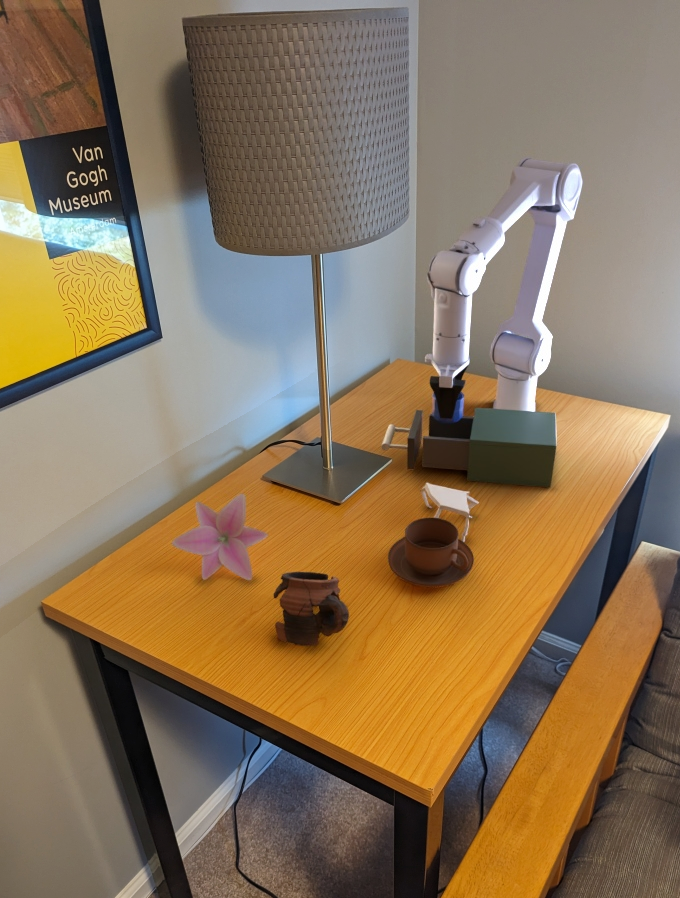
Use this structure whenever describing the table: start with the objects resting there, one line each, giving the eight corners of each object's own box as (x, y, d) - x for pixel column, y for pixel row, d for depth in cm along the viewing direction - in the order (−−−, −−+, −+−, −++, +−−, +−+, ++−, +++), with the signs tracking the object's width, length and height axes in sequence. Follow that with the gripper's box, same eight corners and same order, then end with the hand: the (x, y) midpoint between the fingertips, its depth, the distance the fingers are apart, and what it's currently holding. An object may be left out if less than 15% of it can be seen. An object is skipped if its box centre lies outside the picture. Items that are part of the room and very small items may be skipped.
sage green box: (467, 480, 124) (469, 439, 119) (472, 446, 133) (475, 407, 128) (550, 487, 121) (556, 445, 117) (550, 452, 131) (555, 412, 126)
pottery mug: (255, 635, 95) (259, 572, 94) (307, 626, 102) (312, 567, 102) (322, 657, 88) (328, 589, 87) (374, 646, 95) (379, 582, 94)
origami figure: (494, 522, 114) (496, 495, 111) (462, 547, 109) (464, 520, 106) (431, 495, 120) (432, 469, 117) (399, 518, 115) (399, 491, 112)
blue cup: (464, 411, 127) (465, 389, 125) (461, 425, 123) (462, 403, 120) (433, 409, 128) (434, 387, 125) (430, 423, 124) (431, 401, 121)
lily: (169, 571, 107) (160, 544, 99) (209, 506, 112) (204, 475, 104) (243, 606, 106) (240, 581, 98) (280, 539, 111) (281, 510, 103)
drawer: (379, 467, 126) (379, 435, 122) (389, 437, 134) (389, 407, 131) (481, 475, 123) (484, 443, 120) (485, 445, 131) (487, 414, 128)
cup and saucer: (482, 552, 108) (485, 517, 104) (459, 604, 99) (461, 567, 95) (404, 535, 111) (405, 501, 108) (375, 583, 102) (374, 548, 99)
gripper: (431, 314, 123) (429, 389, 131) (420, 347, 111) (418, 427, 119) (474, 315, 122) (469, 391, 130) (467, 349, 110) (462, 430, 118)
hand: (447, 409), depth 125 cm, fingers closed on blue cup, 5 cm apart
